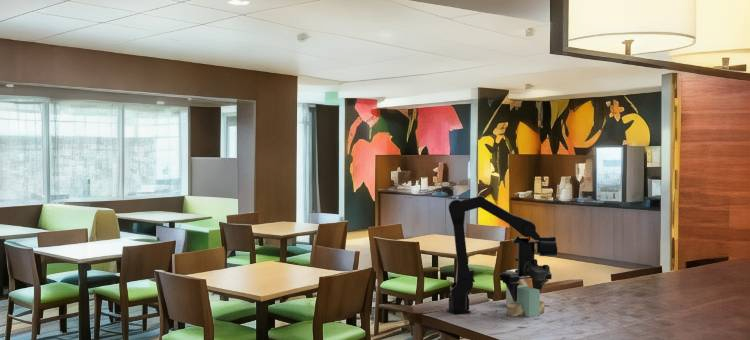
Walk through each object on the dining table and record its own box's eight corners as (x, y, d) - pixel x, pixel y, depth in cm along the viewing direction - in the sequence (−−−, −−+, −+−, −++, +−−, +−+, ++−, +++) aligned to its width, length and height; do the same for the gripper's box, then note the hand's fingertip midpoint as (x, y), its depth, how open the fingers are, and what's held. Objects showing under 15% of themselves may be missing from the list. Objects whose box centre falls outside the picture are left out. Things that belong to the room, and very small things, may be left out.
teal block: (529, 317, 222) (529, 290, 222) (512, 311, 230) (512, 286, 230) (539, 315, 224) (539, 289, 224) (522, 310, 232) (522, 285, 232)
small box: (518, 308, 236) (518, 272, 236) (505, 305, 241) (505, 270, 241) (533, 305, 240) (534, 270, 240) (521, 302, 246) (521, 268, 246)
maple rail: (512, 316, 223) (512, 304, 223) (506, 314, 225) (506, 303, 225) (544, 312, 229) (544, 301, 229) (538, 311, 231) (538, 299, 231)
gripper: (519, 260, 216) (519, 307, 216) (562, 257, 224) (562, 302, 224) (499, 256, 226) (498, 301, 226) (541, 253, 234) (540, 296, 234)
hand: (525, 300), depth 227 cm, fingers open, 9 cm apart
